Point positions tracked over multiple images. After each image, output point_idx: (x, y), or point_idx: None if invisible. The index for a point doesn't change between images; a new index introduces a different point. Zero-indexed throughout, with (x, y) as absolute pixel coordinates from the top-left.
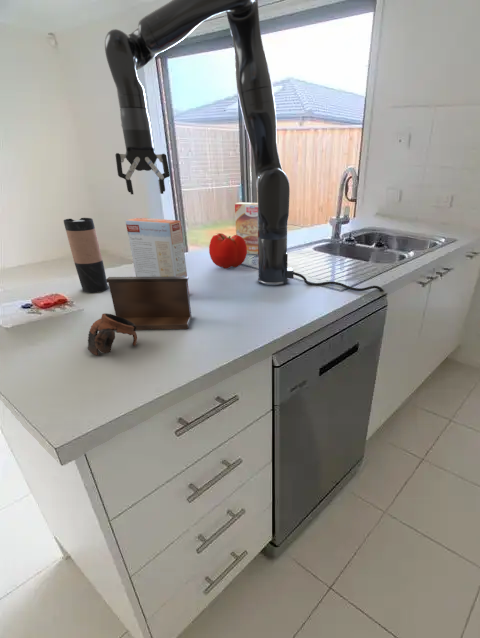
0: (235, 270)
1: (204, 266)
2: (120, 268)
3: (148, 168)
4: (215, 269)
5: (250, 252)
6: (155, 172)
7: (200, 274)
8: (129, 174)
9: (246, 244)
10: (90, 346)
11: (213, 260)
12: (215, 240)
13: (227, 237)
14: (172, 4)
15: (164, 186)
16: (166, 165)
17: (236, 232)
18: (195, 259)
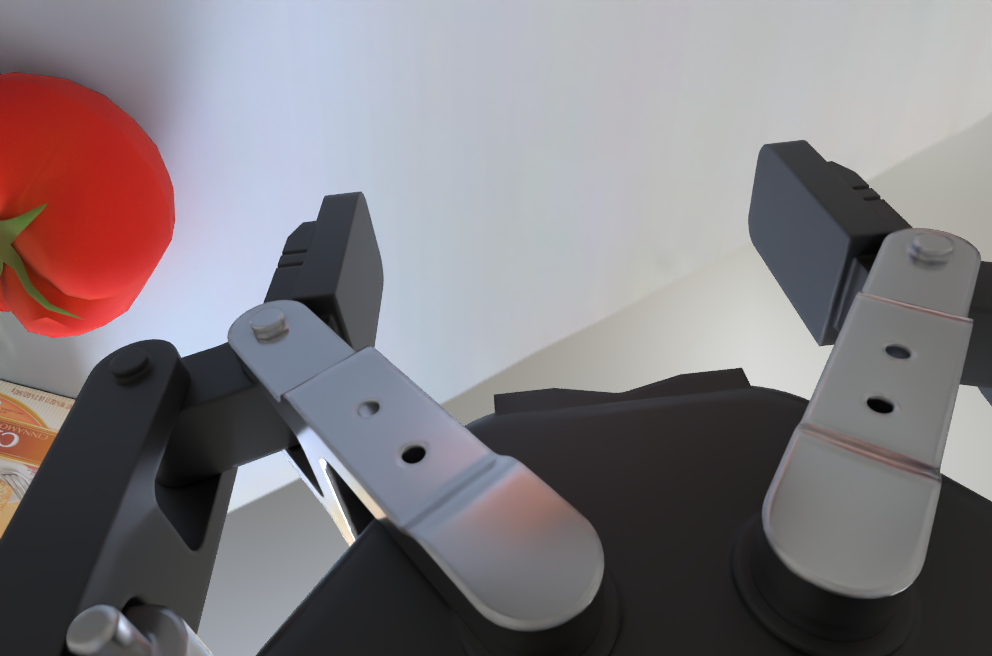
0: (16, 65)
1: (242, 201)
2: (695, 253)
3: (511, 421)
4: (162, 120)
5: (3, 387)
6: (365, 348)
7: (246, 22)
8: (916, 289)
9: (4, 424)
10: None
11: (149, 143)
12: (71, 216)
13: (9, 303)
14: None
15: (283, 263)
16: (48, 514)
17: None
18: None
